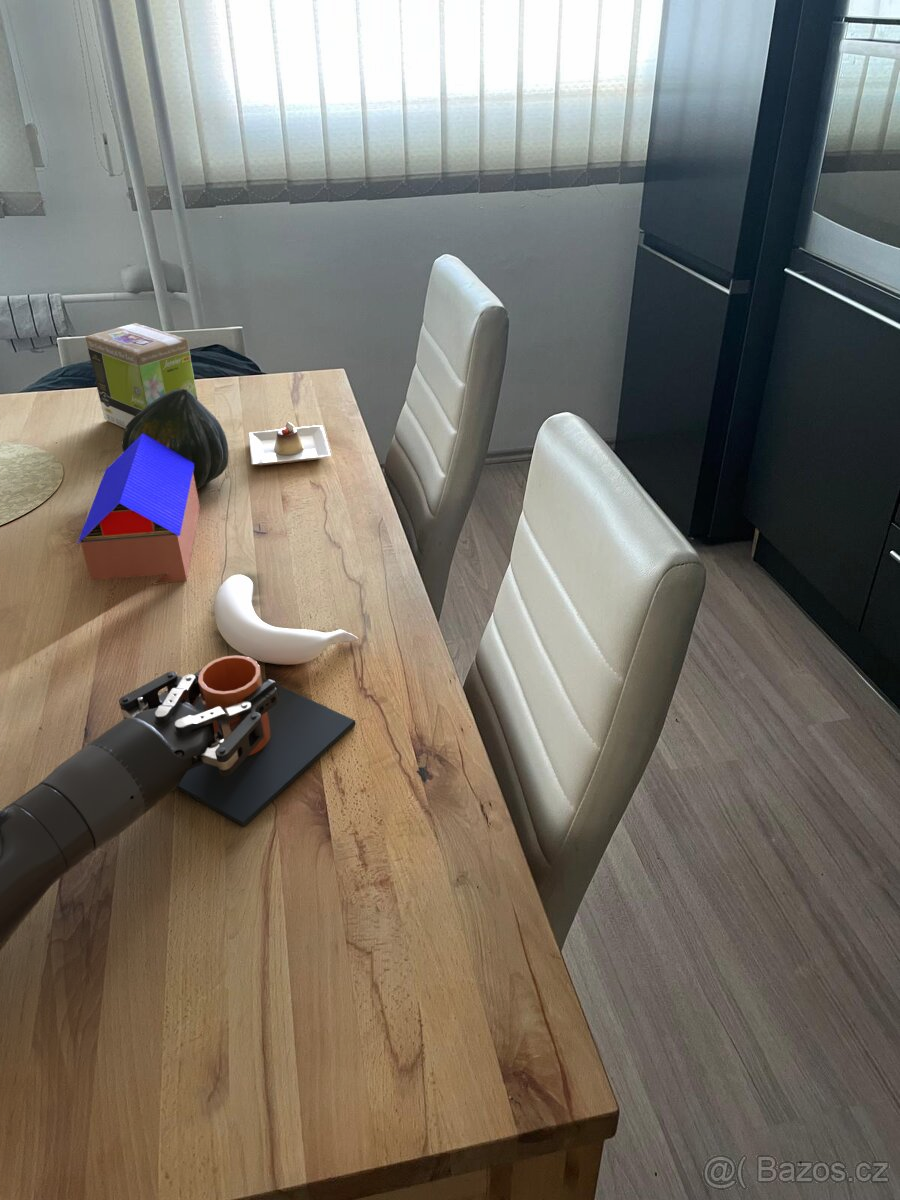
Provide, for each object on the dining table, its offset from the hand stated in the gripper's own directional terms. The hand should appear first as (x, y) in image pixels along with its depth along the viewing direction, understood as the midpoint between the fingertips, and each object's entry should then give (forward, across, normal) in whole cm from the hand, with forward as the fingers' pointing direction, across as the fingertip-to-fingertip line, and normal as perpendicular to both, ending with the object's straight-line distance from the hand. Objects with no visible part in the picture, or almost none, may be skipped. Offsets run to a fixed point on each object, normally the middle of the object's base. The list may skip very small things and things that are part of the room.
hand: (250, 676), depth 88 cm
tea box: (+46, +68, +7) cm, 83 cm away
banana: (+15, +10, +7) cm, 19 cm away
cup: (-2, 0, +6) cm, 6 cm away
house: (+19, +37, +7) cm, 42 cm away
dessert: (+51, +41, +7) cm, 66 cm away
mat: (-2, 0, +7) cm, 7 cm away
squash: (+33, +47, +7) cm, 58 cm away
